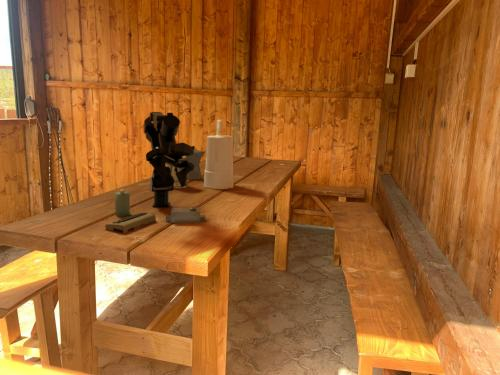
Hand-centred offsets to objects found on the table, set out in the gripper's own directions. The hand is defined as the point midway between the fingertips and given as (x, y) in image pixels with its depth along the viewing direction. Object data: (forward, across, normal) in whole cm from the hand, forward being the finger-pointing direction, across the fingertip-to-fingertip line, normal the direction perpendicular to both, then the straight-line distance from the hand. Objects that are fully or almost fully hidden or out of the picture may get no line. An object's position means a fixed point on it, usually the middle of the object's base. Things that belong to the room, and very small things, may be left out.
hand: (174, 183), depth 132 cm
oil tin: (+1, 0, +26) cm, 26 cm away
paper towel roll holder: (-25, +60, +19) cm, 68 cm away
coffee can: (-27, +45, +34) cm, 63 cm away
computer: (+10, -4, +17) cm, 21 cm away
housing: (+10, +10, +5) cm, 15 cm away
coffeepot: (-40, +64, +39) cm, 85 cm away
